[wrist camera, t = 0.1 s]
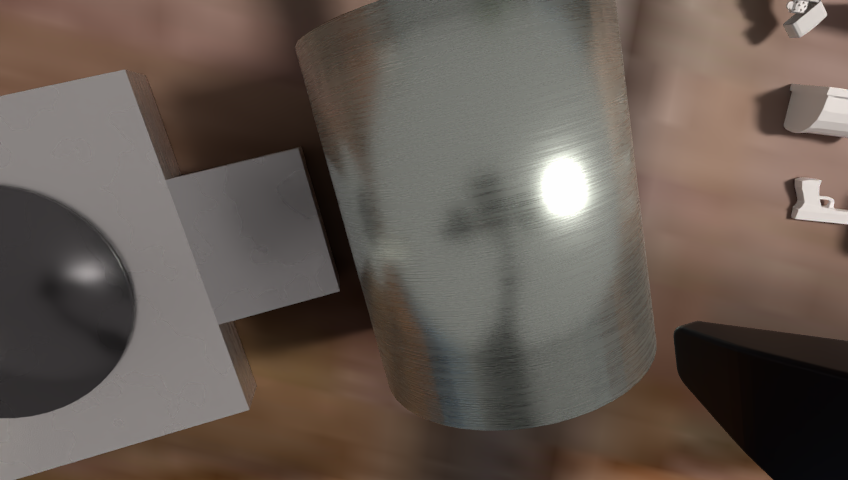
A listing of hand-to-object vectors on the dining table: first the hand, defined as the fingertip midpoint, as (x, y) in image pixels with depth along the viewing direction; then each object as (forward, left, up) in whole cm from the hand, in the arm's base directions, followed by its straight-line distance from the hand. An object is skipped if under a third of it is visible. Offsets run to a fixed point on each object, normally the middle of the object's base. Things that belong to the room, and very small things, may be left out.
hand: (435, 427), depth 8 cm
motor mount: (+3, +6, -15) cm, 16 cm away
